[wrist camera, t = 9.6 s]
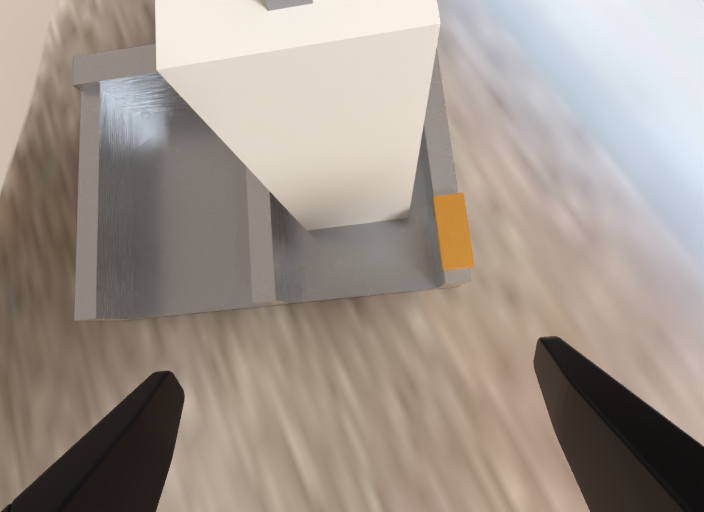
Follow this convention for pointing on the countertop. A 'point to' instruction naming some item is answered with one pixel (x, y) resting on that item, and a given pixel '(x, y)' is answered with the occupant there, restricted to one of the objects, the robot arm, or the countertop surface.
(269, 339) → the countertop surface
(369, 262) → the rack
